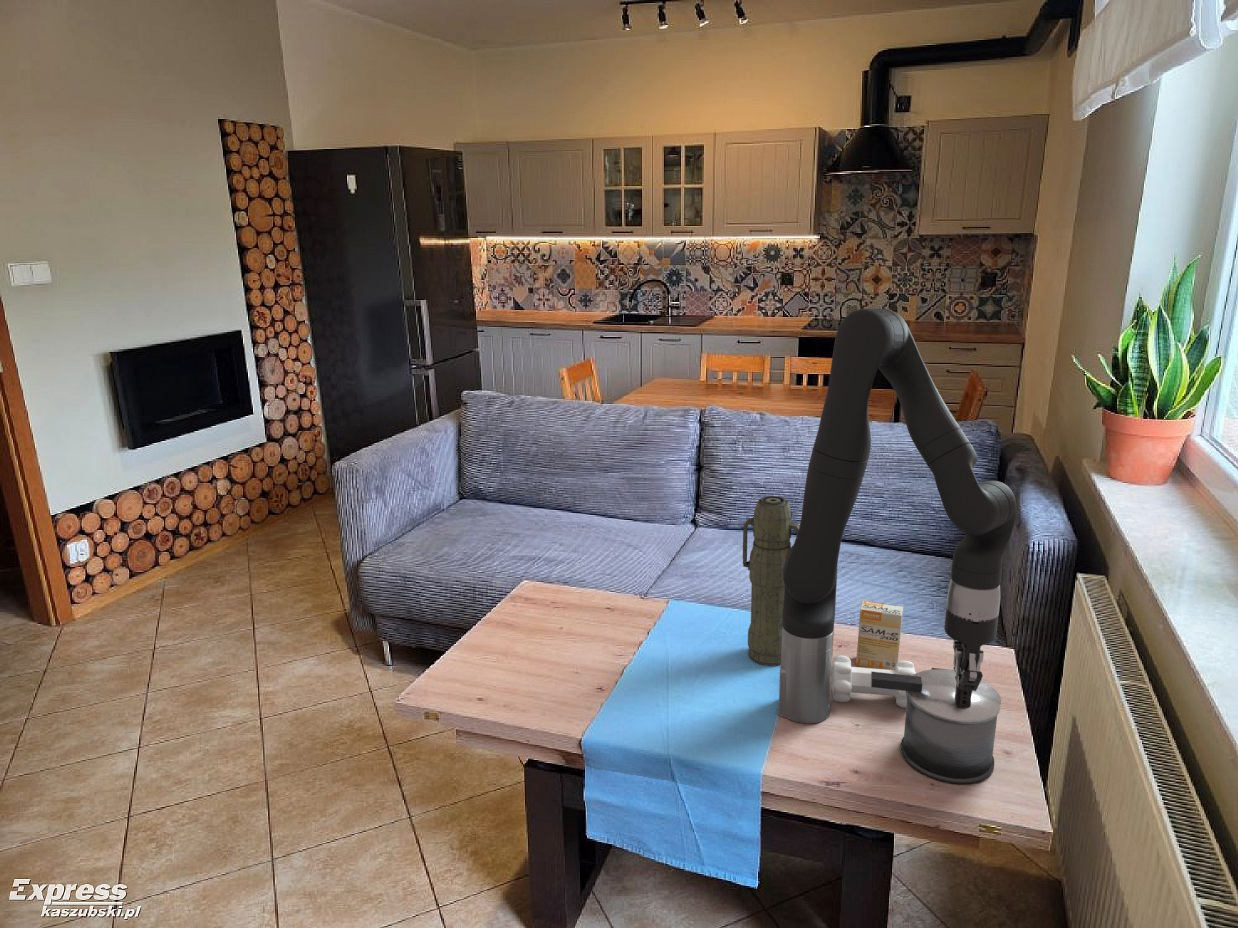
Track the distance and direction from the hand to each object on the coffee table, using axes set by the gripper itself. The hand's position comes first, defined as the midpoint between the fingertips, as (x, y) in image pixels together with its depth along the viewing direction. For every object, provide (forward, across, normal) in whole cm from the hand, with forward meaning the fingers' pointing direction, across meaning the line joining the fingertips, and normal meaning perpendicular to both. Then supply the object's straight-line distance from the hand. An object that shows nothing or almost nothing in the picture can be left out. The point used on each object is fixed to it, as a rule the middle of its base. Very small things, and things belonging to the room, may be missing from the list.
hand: (962, 704), depth 131 cm
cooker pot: (+12, -4, -1) cm, 13 cm away
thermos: (+13, -32, -33) cm, 48 cm away
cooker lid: (+1, -4, -4) cm, 6 cm away
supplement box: (+13, -33, -11) cm, 37 cm away
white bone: (+13, -20, -12) cm, 26 cm away
